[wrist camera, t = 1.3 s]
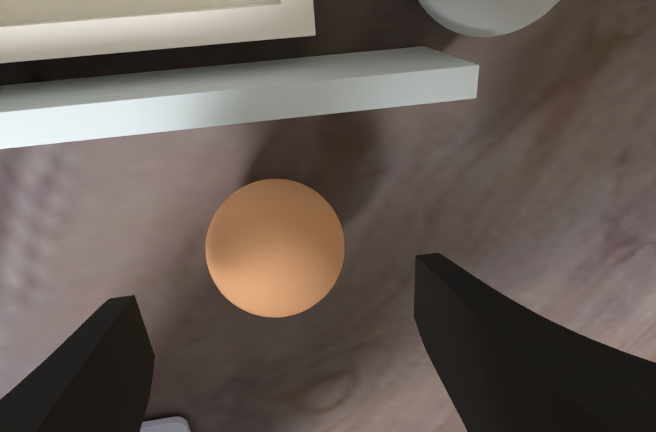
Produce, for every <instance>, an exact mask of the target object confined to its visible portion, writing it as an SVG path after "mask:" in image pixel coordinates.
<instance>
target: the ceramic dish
mask: <svg viewBox="0 0 656 432" xmlns="http://www.w3.org/2000/svg"><path fill="white" fill-rule="evenodd" d="M315 35H316V33H315V19H314V6H313V0H0V63H9V62H20V61H31V60H43V59H54V58H65V57H77V56H88V55H100V54H111V53H122V52H134V51H145V50H156V49H168V48H179V47H190V46H202V45H213V44H224V43H236V42H247V41H258V40H270V39H281V38H292V37H304V36H315Z"/></svg>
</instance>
